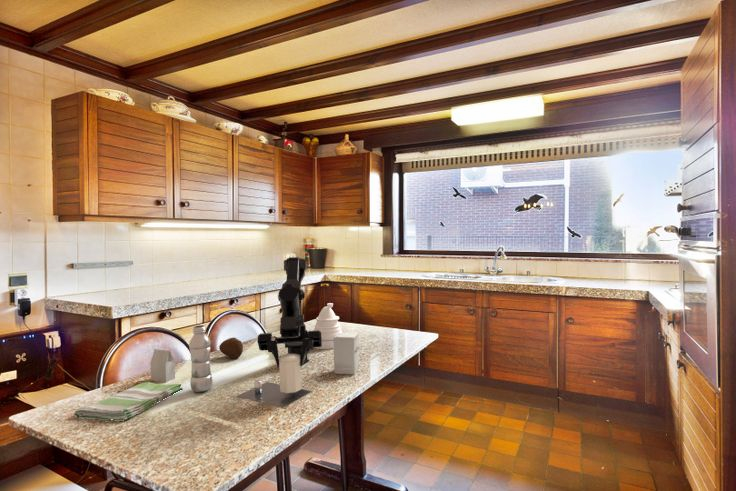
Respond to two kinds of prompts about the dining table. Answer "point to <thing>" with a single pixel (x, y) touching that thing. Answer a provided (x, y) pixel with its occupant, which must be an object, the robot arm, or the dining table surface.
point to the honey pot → (327, 326)
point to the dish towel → (128, 402)
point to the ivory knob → (290, 373)
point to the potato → (231, 347)
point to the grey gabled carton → (162, 366)
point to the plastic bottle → (200, 360)
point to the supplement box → (346, 353)
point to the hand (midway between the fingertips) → (289, 366)
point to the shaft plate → (272, 394)
